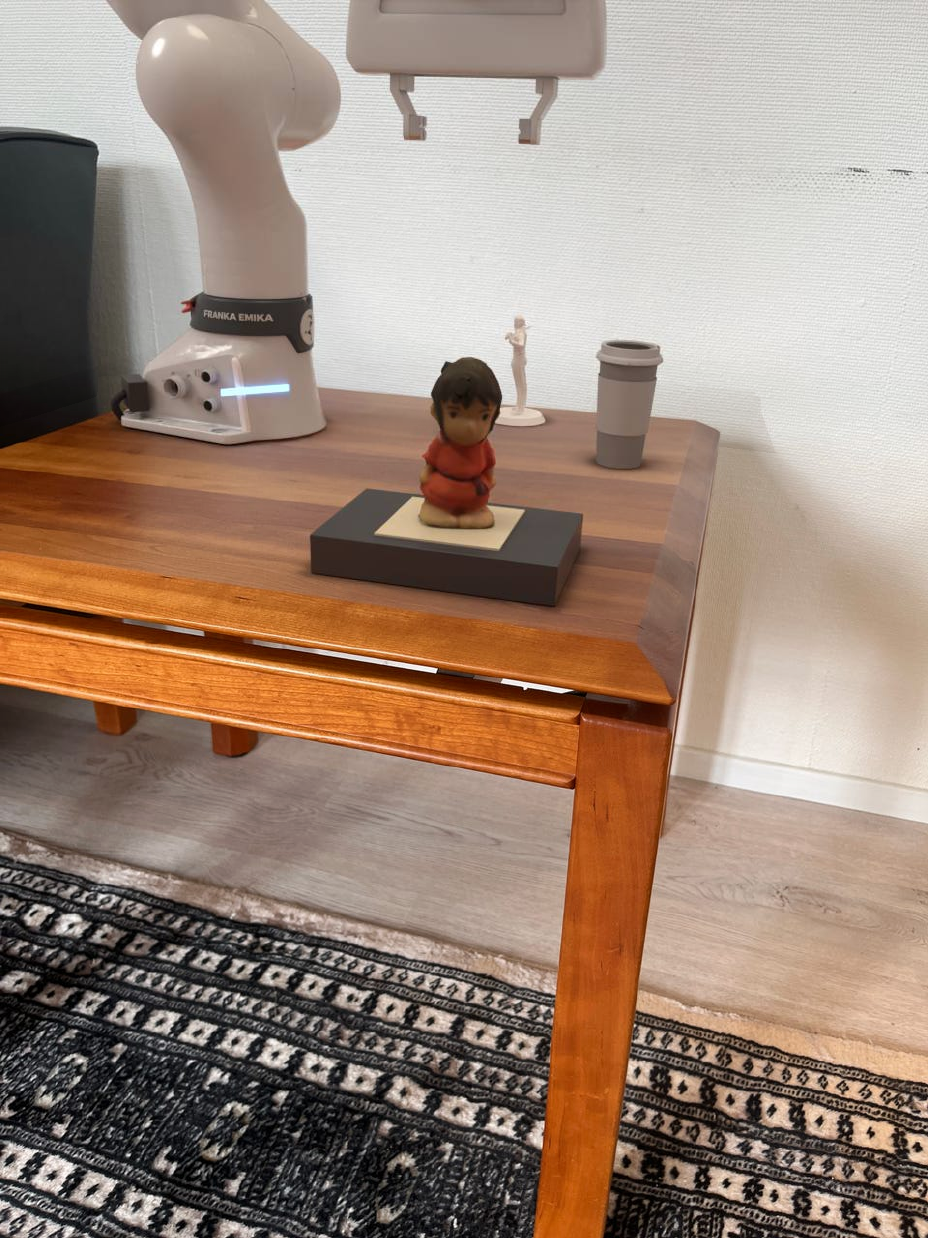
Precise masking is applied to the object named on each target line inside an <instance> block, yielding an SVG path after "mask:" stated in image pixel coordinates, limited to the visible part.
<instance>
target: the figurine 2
mask: <svg viewBox="0 0 928 1238" xmlns="http://www.w3.org/2000/svg"><path fill="white" fill-rule="evenodd" d="M513 325H514V326H513V327H514V333H513V332H511V331H508V332H506V333H505V337H504V340H506V341H508V343H509V344H510V345H511V346H512V355H513V356H512V359H511V361H510V367H511V370H512V371H511V372H512V376H513V380H514V385H515V388H516V404H515V405H516V406H504V407H500V415H499V417H498V419H497V420H496V421H495V423H494V424H498V425H502V426H509V427H531V426H539V425H543V424H544V423H546V418H545V417H544V415H543V414H542V412H541V411H540V410H536V409H533V408H527V407H526V405H527V396H528V383H527V375H526V365H527V363H528V359H527V357H526V344H527V337H528V334H527V332H526V330H528V329H530V328H532V327H533V325H529V326H526V320H525V318H524V317H523V316H522V315H521V314H520V315H519V314H518V315H515V316H514V320H513Z"/></svg>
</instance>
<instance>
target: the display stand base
mask: <svg viewBox="0 0 928 1238" xmlns="http://www.w3.org/2000/svg"><path fill="white" fill-rule="evenodd" d="M424 500H425V499H424V495H423V494H419V493H418V494H417V493H410V492H400V491H393V490H384V489H375V488H365V489H364V490H363V491H361V492H360V493H359V494H358V495H357V496H356V497H354V498H352V500H350V502H348V503H347V504H346V505H345V506H343V507H342V508H341V509H339V510H338V511H337V512H336V513H334V515H332V516H331V517H329V518H328V519H327V520H326V521H325V522H324V523H323V524H321V525H320V526H319V527H317V528H316V529H315V530H314V531H312V532H311V533H310V535H309V546H310V548H309V549H310V573H311V574H315V575H316V574H317V575H323V576H324V575H325V576H331V577H339V578H345V579H353V580H359V581H366V582H367V581H368V582H375V583H381V584H388V585H394V586H395V585H396V586H403V587H410V588H418V589H424V590H434V591H439V592H446V593H453V594H461V595H467V596H468V595H469V596H476V597H483V598H490V599H498V600H505V601H511V602H517V603H518V602H520V603H526V604H533V605H541V606H549V607H555V606H556V604H557V601H558V600H559V598H560V595H561V593H562V590H563V588H564V586H565V583H566V582H567V579H568V577H569V575H570V573H571V570H572V568H573V565H574V563H575V562H576V559H577V557H578V554H579V552H580V550H581V544H582V543H581V542H582V531H583V521H584V514H583V513H581V512H573V511H563V510H555V509H548V508H547V509H546V508H539V507H538V508H537V507H528V506H520V505H513V504H502V503H496V502H487V503H486V505H487V507H488V508H489V509H490V510H491V511H492V513H493V515H494V520H495V522H494V524H495V525H494V526H493V527H491V528H485V529H461V528H450V527H445V526H434V525H429V524H427V523H424V522H422V521H421V520H420V518H419V517H418V515H419V513H420V510H421V506H422V504H423V502H424Z"/></svg>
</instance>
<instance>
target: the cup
mask: <svg viewBox="0 0 928 1238" xmlns="http://www.w3.org/2000/svg"><path fill="white" fill-rule="evenodd" d="M595 359H597V360H598V361H599V372H598V373H597V397H596V419H595V420H596V422H595V429H596V430H597V431H596V449H595V450H596V451H595V463H596V464H597V465H599V466H601V467H605V468H609V469H615V470H630V469H637V468H639V467H640V466H641V465H642V458H643V454H644V447H645V442H646V437H647V436H646V435H647V434H648V431H649V427H650V426H649V425H650V421H651V416H652V410H653V404H654V398H655V392H656V388H657V387H656V386H657V380H658V377H657V373H658V366H660V365H662V364H663V363H664V357H663V355H662V353H661V345H659V344H657V343H654V342H649V341H644V340H635V339H634V340H633V339H611V340H610V339H608V340H604V341H602V342H601V345H600V349H599V350H598V351H597V352H596V355H595Z"/></svg>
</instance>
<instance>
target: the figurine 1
mask: <svg viewBox="0 0 928 1238" xmlns="http://www.w3.org/2000/svg"><path fill="white" fill-rule="evenodd" d="M500 386H501V385H500V383H499V381H498V379H497V377H496V374H495V372H494V371H493V369H492V368H491V367H490V366H489V365H488V363H487V362H485V361H484V360H482V359H479V358H476V357H473V356H466V357H464V356H463V357H460V358H459V359H457V360H456V361H453V362H451V361H447V360H445V361H444V363H443V365H442V367H441V369H440V375H439V376H438V377H437V379H436V381H435V383H434V384H433V387H432V388H431V392H430V397H431V399H432V403H431V404H430V409H429V411H430V414H431V416H432V417H433V419H434V420H435V421H436V422H437V424H438V426H439V429H440V430H439V433H438V435H437V436H436V437H435V438H434V439H432V441H431V443H430V444H429V445H428V448H427V450H426V451H425V452H424V453H423V454H422V455H421V457H422V458H423V459H424V460H425V466H424V468H423V470H422V471H421V473H420V475H419V483H420V485H419V489H420V491H421V494H422V495H424V499H425V500H424V502H423V504H422V506H421V510H420V513H419V515H418V517H419V518H420V520H421V521H422V522H424V523H427V524H429V525H434V526H445V527H450V528H461V529H485V528H491V527H493V526H494V525H495V524H494V522H495V520H494V515H493V513H492V511H491V510H490V509H489V508H488V507H487V505H486V503H489V499H490V496H491V495H490V494H491V491H492V490H493V489H494V488H495V486H496V485H497V478H496V476H495V471H494V468H495V466H496V464H497V459H496V456H495V450H494V448H493V447H492V445H491V443H490V440H489V439H488V436H489V435H490V434H491V433H492V431H493V430H494V427H495V424H496V423H495V421H496V420H497V419H498V417H499V415H500V408H501V406H502V403H503V402H502V401H503V393H502V390H501V387H500Z"/></svg>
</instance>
